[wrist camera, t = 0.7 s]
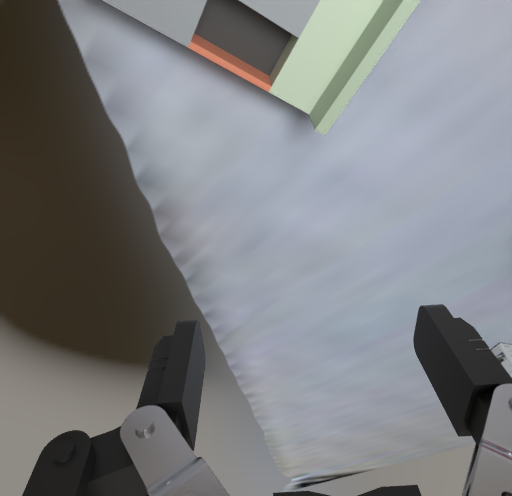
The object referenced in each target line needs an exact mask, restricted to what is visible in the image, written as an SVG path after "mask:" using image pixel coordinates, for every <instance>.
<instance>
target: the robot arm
mask: <svg viewBox="0 0 512 496" xmlns="http://www.w3.org/2000/svg"><path fill="white" fill-rule="evenodd" d="M414 348H415V352H416V355H417V357H418V359H419V361H420V363H421V365H422V367H423V368H424V370H425V372H426V374H427V376H428V378H429V380H430V382H431V384H432V386H433V388H434V390H435V392H436V394H437V396H438V398H439V400H440V402H441V403H442V405H443V407H444V409H445V411H446V413H447V415H448V417H449V419H450V421H451V423H452V425H453V427H454V429H455V431H456V433H457V435H458V436H472V437H473V439H474V441H475V442H476V444H475V447H474V451H473V454H472V458H471V462H470V466H469V470H468V474H467V477H466V482H465V485H464V489H463V493H462V496H512V377H511V376H510V375H509V373H508V372H507V371H506V369H505V368H504V367H503V366H502V364H501V363H500V362H499V360H498V359H497V358H496V356H495V355H494V354H493V352H492V351H491V350H489V347H488V346H487V344H486V343H485V342H484V341H482V338H481V336H480V335H479V334H478V332H477V331H476V330H475V328H474V327H473V326H471V325H470V324H468V323H467V322H466V321H464V320H463V319H461V318H453V316H452V315H451V314H450V312H449V311H448V309H447V308H446V307H445V306H444V305H442V304H441V305H426V306H420V308H419V310H418V316H417V322H416V327H415V333H414ZM151 359H152V360H151V362H150V365H149V371H148V372H147V375H146V379H145V382H144V385H143V389H142V392H141V395H140V399H139V402H138V405H137V408H136V410H135V411H133V412H132V413H131V414H130V415H128V417H127V418H126V419H125V420H124V422H123V424H122V425H121V426H120V427H118V428H116V429H114V430H112V431H109V432H106V433H104V434H101V435H98V436H95V437H92V438H89V436H88V435H87V434H86V433H85V432H82V431H78V430H74V431H69V432H65V433H63V434H61V435H59V436H57V437H56V438H54V439H53V440H51V441H50V442H49V443H48V444H47V445H46V446H45V448H44V449H43V450H42V452H41V454H40V456H39V458H38V461H37V463H36V465H35V467H34V470H33V472H32V474H31V477H30V479H29V481H28V484H27V486H26V488H25V491H24V493H23V495H22V496H230V495H229V494H228V493H227V491H226V490H225V488H224V487H223V485H222V484H221V482H220V481H219V480H218V478H217V477H216V475H215V474H214V473H213V471H212V470H211V468H210V467H209V465H208V464H207V463H206V461H205V460H204V459H203V458H202V457H199V458H198V457H197V456H196V455H195V454H194V452H193V451H194V447H195V439H196V432H197V423H198V416H199V408H200V401H201V393H202V386H203V378H204V370H205V351H204V345H203V340H202V334H201V329H200V324H199V321H198V320H187V321H178V322H177V324H176V328H175V332H174V336H163V338H162V339H161V340H160V341H159V343H158V344H157V345H156V346H155V348H154V351H153V355H152V358H151ZM273 496H329V495H324V494H320V493H315V492H310V491H300V492H282V493H273ZM358 496H421V493H420V491H419V488H418V486H417V485H409V486H390V487H380V488H377V489H375V490H372V491H369V492H366V493H364V494H361V495H358Z"/></svg>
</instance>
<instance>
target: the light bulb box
mask: <svg viewBox="0 0 512 496" xmlns="http://www.w3.org/2000/svg"><path fill="white" fill-rule="evenodd" d="M491 351H492V352H493V354H494V355H495V356H496V358H497V359H498V360H499V362H500V363H501V364H502V366H503V367H504V368H505V369H506V371H507V372H508V373H509V375H510V376H511V377H512V345H509V344H503V343H499V344H498V345H497V346H496V347H494V348H493V349H492V350H491Z"/></svg>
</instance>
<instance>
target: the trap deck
mask: <svg viewBox="0 0 512 496" xmlns="http://www.w3.org/2000/svg"><path fill="white" fill-rule="evenodd" d="M102 1H104V2H106V3H108V4H110V5H111V6H113V7H115V8H117V9H119V10H120V11H122V12H124V13H126V14H128V15H130V16H131V17H133V18H135V19H137V20H139V21H140V22H142V23H144V24H146V25H148V26H149V27H151V28H153V29H155V30H157V31H159V32H160V33H162V34H164V35H166V36H168V37H169V38H171V39H173V40H175V41H177V42H178V43H180V44H182V45H184V46H186V47H188V48H189V49H191V50H193V51H195V52H197V53H198V54H200V55H202V56H204V57H206V58H208V59H209V60H211V61H213V62H215V63H217V64H218V65H220V66H222V67H224V68H226V69H227V70H229V71H231V72H233V73H235V74H237V75H238V76H240V77H242V78H244V79H246V80H247V81H249V82H251V83H253V84H255V85H257V86H258V87H260V88H262V89H264V90H266V91H267V92H269V93H271V94H273V95H275V96H276V97H278V98H280V99H282V100H284V101H286V102H287V103H289V104H291V105H293V106H295V107H296V108H298V109H300V110H302V111H304V112H306V113H307V114H309V116H310V118H311V121H312V124H313V126H314V129H315V130H316V131H317V132H319V133H321V134H323V135H326V133H327V132H328V131H329V129H330V128H331V126H332V125H333V124H334V122H335V121H336V119H337V118H338V116H339V115H340V114H341V112H342V111H343V109H344V108H345V107H346V105H347V104H348V102H349V101H350V99H351V98H352V97H353V95H354V94H355V92H356V91H357V90H358V88H359V87H360V85H361V84H362V82H363V81H364V80H365V78H366V77H367V75H368V74H369V73H370V71H371V70H372V68H373V67H374V66H375V64H376V63H377V61H378V60H379V58H380V57H381V56H382V54H383V53H384V51H385V50H386V49H387V47H388V46H389V44H390V43H391V41H392V40H393V39H394V37H395V36H396V34H397V33H398V32H399V30H400V29H401V27H402V26H403V24H404V23H405V22H406V20H407V19H408V17H409V16H410V15H411V13H412V12H413V10H414V9H415V7H416V6H417V5H418V3H419V2H420V0H102Z"/></svg>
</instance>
